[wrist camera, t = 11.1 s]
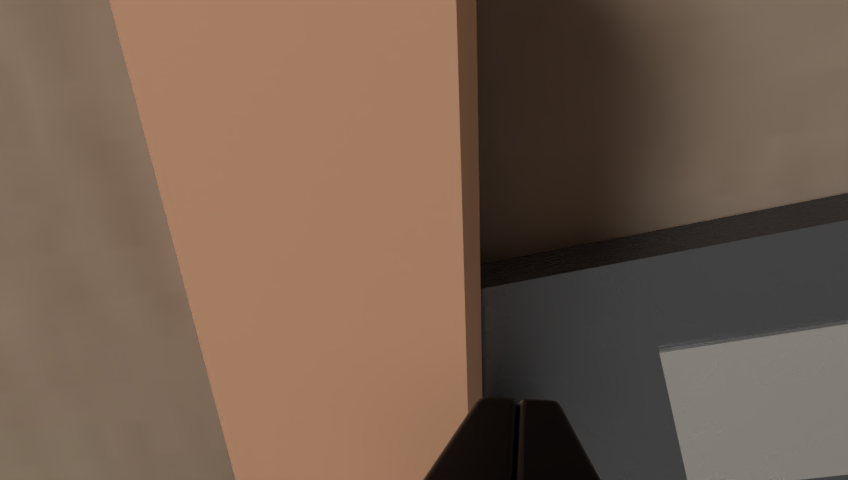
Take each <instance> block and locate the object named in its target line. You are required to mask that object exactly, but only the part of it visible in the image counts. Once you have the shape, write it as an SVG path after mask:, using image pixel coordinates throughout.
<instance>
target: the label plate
mask: <svg viewBox="0 0 848 480" xmlns="http://www.w3.org/2000/svg"><path fill="white" fill-rule="evenodd" d="M480 275H481V342H482V397H498V398H512V399H514V400H516V402H517V403H518V406H519V403H520V401H521V400H523V399H537V400H553V401H556V402H558V403H559V404H560V406H561V407H562V409H563V411H564V412H565V414H566V416H567V418H568V420H569V422H570V423H571V425H572V427H573V429H574V431H575V433H576V434H577V436H578V438H579V440H580V442H581V444H582V445H583V447H584V449H585V451H586V453H587V455H588V456H589V458H590V460H591V462H592V464H593V466H594V467H595V469H596V471H597V473H598V475H599V477H600V478H601V480H848V193H846V194H841V195H836V196H831V197H826V198H821V199H816V200H811V201H806V202H801V203H795V204H790V205H785V206H780V207H775V208H770V209H765V210H760V211H755V212H750V213H744V214H739V215H734V216H729V217H724V218H719V219H714V220H709V221H704V222H699V223H694V224H688V225H683V226H678V227H673V228H668V229H663V230H658V231H653V232H648V233H643V234H637V235H632V236H627V237H622V238H617V239H612V240H607V241H602V242H597V243H592V244H587V245H581V246H576V247H571V248H566V249H561V250H556V251H551V252H546V253H541V254H536V255H530V256H525V257H520V258H515V259H510V260H505V261H500V262H495V263H490V264H485V265H480Z"/></svg>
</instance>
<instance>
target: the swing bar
mask: <svg viewBox="0 0 848 480" xmlns="http://www.w3.org/2000/svg"><path fill="white" fill-rule="evenodd" d="M109 1H110V5H111V8H112V12H113V16H114V20H115V24H116V27H117V31H118V35H119V39H120V43H121V46H122V50H123V54H124V58H125V62H126V65H127V69H128V73H129V77H130V81H131V84H132V88H133V92H134V96H135V100H136V103H137V107H138V111H139V115H140V119H141V122H142V126H143V130H144V134H145V138H146V141H147V145H148V149H149V153H150V157H151V160H152V164H153V168H154V172H155V176H156V179H157V183H158V187H159V191H160V195H161V198H162V202H163V206H164V210H165V214H166V217H167V221H168V225H169V229H170V232H171V236H172V240H173V244H174V248H175V251H176V255H177V259H178V263H179V267H180V270H181V274H182V278H183V282H184V286H185V289H186V293H187V297H188V301H189V305H190V308H191V312H192V316H193V320H194V324H195V327H196V331H197V335H198V339H199V343H200V346H201V350H202V354H203V358H204V362H205V365H206V369H207V373H208V377H209V381H210V384H211V388H212V392H213V396H214V400H215V403H216V407H217V411H218V415H219V419H220V422H221V426H222V430H223V434H224V438H225V441H226V445H227V449H228V453H229V457H230V460H231V464H232V468H233V472H234V476H235V479H236V480H423V479H424V478H425V476H426V475H427V473H428V472H429V470H430V469H431V467H432V466H433V464H434V463H435V462H436V460H437V459H438V457H439V456H440V454H441V453H442V451H443V450H444V448H445V447H446V445H447V444H448V442H449V441H450V439H451V438H452V436H453V435H454V433H455V432H456V430H457V429H458V427H459V426H460V424H461V423H462V421H463V420H464V419H465V417H466V416H467V414H468V413H469V411H470V410H471V408H472V407H473V405H474V404H475V402H476V401H477V400H478V399H479V398H481V397H482V342H481V275H480V209H479V142H478V76H477V10H476V0H109Z"/></svg>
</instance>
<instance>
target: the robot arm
mask: <svg viewBox="0 0 848 480" xmlns="http://www.w3.org/2000/svg"><path fill="white" fill-rule="evenodd" d="M423 480H601V478H600V477H599V475H598V473H597V471H596V469H595V467H594V466H593V464H592V462H591V460H590V458H589V456H588V455H587V453H586V451H585V449H584V447H583V445H582V444H581V442H580V440H579V438H578V436H577V434H576V433H575V431H574V429H573V427H572V425H571V423H570V422H569V420H568V418H567V416H566V414H565V412H564V411H563V409H562V407H561V406H560V404H559V403H558V402H556V401H553V400H537V399H523V400H521V401H520V403H519V406H518V403H517V402H516V400H514V399H512V398H498V397H481V398H479V399H478V400H477V401H476V402H475V404H474V405H473V407H472V408H471V410H470V411H469V413H468V414H467V416H466V417H465V419H464V420H463V421H462V423H461V424H460V426H459V427H458V429H457V430H456V432H455V433H454V435H453V436H452V438H451V439H450V441H449V442H448V444H447V445H446V447H445V448H444V450H443V451H442V453H441V454H440V456H439V457H438V459H437V460H436V462H435V463H434V464H433V466H432V467H431V469H430V470H429V472H428V473H427V475H426V476H425V478H424V479H423Z"/></svg>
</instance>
